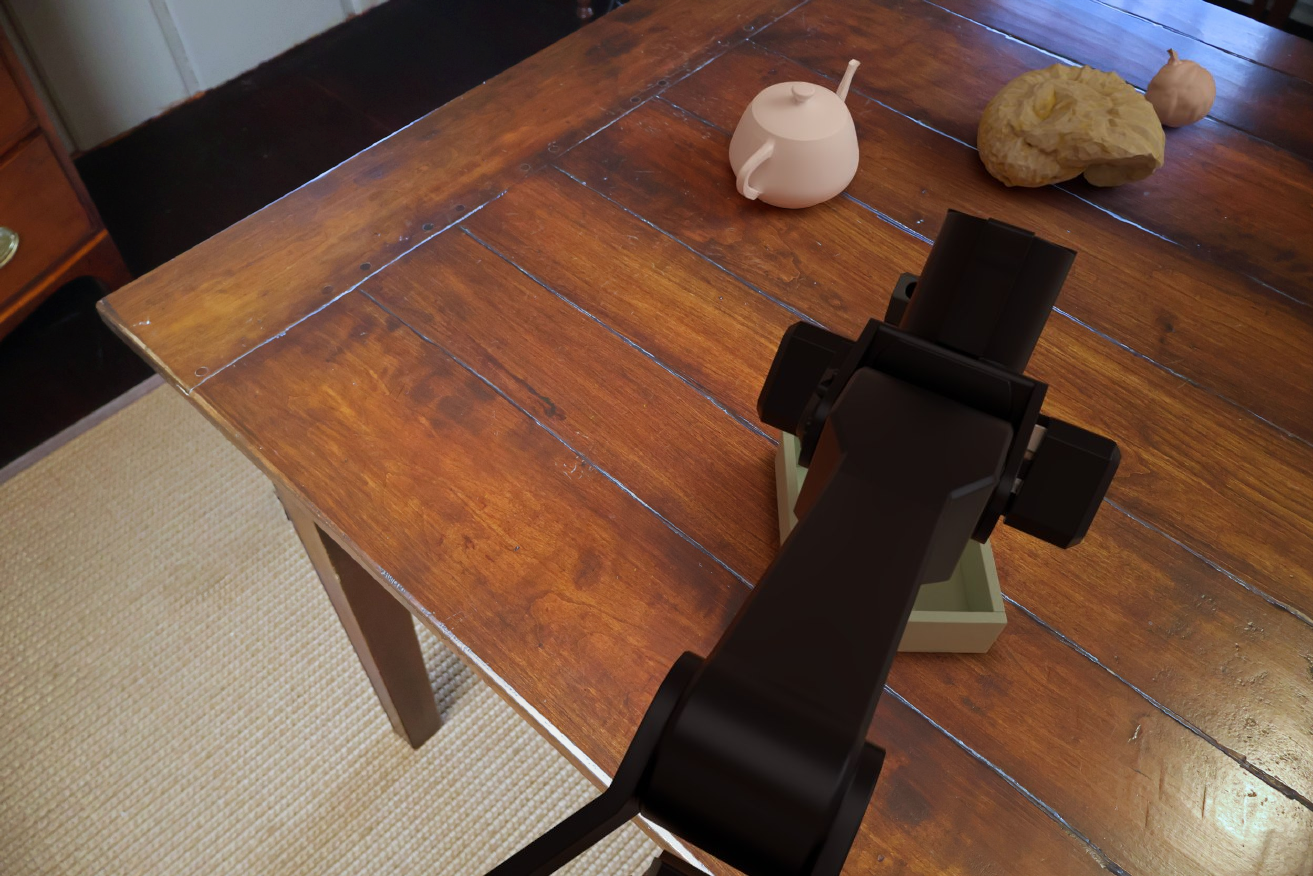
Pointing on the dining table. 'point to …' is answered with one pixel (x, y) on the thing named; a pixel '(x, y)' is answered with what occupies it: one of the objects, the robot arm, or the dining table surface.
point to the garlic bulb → (1181, 92)
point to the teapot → (796, 144)
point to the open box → (942, 611)
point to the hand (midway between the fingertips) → (935, 420)
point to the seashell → (1070, 129)
